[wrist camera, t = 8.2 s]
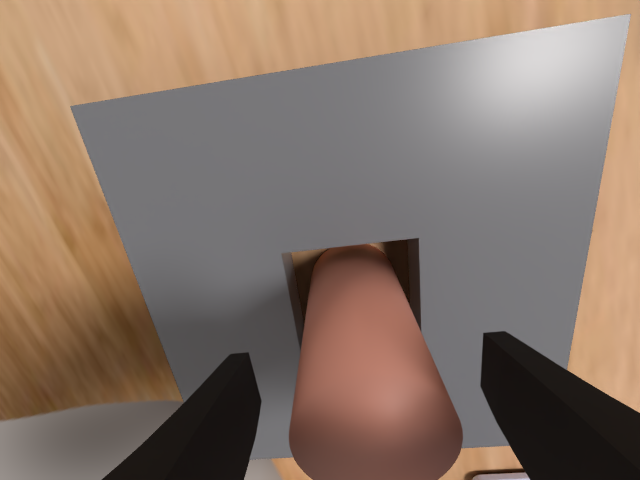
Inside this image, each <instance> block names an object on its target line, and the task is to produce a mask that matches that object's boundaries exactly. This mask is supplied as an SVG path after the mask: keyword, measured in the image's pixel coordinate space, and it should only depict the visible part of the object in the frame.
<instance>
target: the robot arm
mask: <svg viewBox="0 0 640 480" xmlns="http://www.w3.org/2000/svg"><path fill="white" fill-rule="evenodd" d="M480 387H481V389H482V391H483V394H484V396H485V398H486V400H487V403H488V405H489V407H490V409H491V412H492V414H493V416H494V418H495V420H496V422H497V424H498V426H499V428H500V429H501V431H502V433H503V434H504V436H505V438H506V440H507V441H508V443H509V445H510V447H511V448H512V450H513V452H514V453H515V455H516V457H517V458H518V460H519V462H520V464H521V465H522V467H523V469H524V470H525V472H523V473H501V474H480V475H476V476H474V477H473V479H472V480H640V413H639V412H637V411H635V410H633V409H632V408H630V407H628V406H626V405H625V404H623V403H621V402H619V401H618V400H616V399H614V398H612V397H611V396H609V395H607V394H605V393H604V392H602V391H600V390H599V389H597V388H595V387H594V386H592V385H590V384H589V383H587V382H585V381H584V380H582V379H581V378H579V377H577V376H576V375H574V374H572V373H571V372H569V371H568V370H566V369H564V368H563V367H561V366H560V365H558V364H556V363H555V362H553V361H552V360H550V359H549V358H547V357H545V356H544V355H542V354H541V353H539V352H538V351H536V350H534V349H533V348H531V347H530V346H528V345H527V344H525V343H524V342H522V341H520V340H519V339H517V338H516V337H514V336H512V335H511V334H509V333H507V332H506V331H499V332H486V333H483V346H482V364H481V383H480ZM261 402H262V401H261V397H260V393H259V389H258V386H257V382H256V378H255V374H254V370H253V367H252V363H251V359H250V355H249V352H246V353H234V354H230V355H229V356H228V357H227V358H226V359H225V360H224V361H223V362H222V363H221V364H220V365H219V366H218V367H217V368H216V369H215V370H214V372H213V373H212V374H211V375H210V376H209V377H208V378H207V379H206V380H205V381H204V382H203V383H202V384H201V386H200V387H199V388H198V389H197V390H196V391H195V392H194V393H193V394H192V395H191V396H190V397H189V398H188V399H187V400H186V401H185V402H184V403H183V404H182V406H181V407H180V408H179V409H178V410H177V411H176V412H175V413H174V414H173V415H172V416H171V417H169V419H168V420H166V421H165V422H164V423H163V424H162V425H161V426H160V427H159V428H158V429H157V430H156V431H155V432H154V433H153V434H152V435H151V436H150V437H149V438H148V439H147V440H146V441H145V442H144V443H143V444H142V445H141V446H140V447H138V448H137V449H136V450H135V451H134V452H133V453H132V454H131V455H130V456H128V457H127V458H126V459H125V460H124V461H123V462H122V463H121V464H119V465H118V466H117V467H116V468H115V469H114V470H112V471H111V472H110V473H109V474H108V475H107V476H105V477H104V478H103V479H102V480H244V477H245V474H246V470H247V467H248V463H249V459H250V456H251V452H252V449H253V445H254V441H255V437H256V433H257V427H258V421H259V415H260V408H261Z"/></svg>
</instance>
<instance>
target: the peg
mask: <svg viewBox="0 0 640 480" xmlns="http://www.w3.org/2000/svg"><path fill="white" fill-rule="evenodd" d="M462 442H463V429H462V425H461V421H460V419H459V417H458V415H457V412H456V410H455V408H454V405H453V403H452V401H451V399H450V396H449V394H448V392H447V390H446V387H445V385H444V383H443V380H442V378H441V376H440V374H439V371H438V369H437V367H436V365H435V362H434V360H433V358H432V356H431V353H430V351H429V349H428V346H427V344H426V342H425V340H424V337H423V335H422V333H421V331H420V328H419V326H418V324H417V321H416V319H415V317H414V315H413V312H412V310H411V308H410V306H409V303H408V301H407V299H406V297H405V294H404V292H403V290H402V287H401V285H400V283H399V281H398V278H397V276H396V274H395V272H394V269H393V267H392V265H391V263H390V261H389V259H388V258H387V257H386V256H385V254H384V253H382V252H381V251H380V250H379V249H377V248H376V247H373V246H371V245H369V244H360V245H351V246H342V247H333V248H330V249H328V250H327V251H326V252H324V253H323V254H322V255H321V256H320V257H319V259H318V260H317V262H316V264H315V265H314V268H313V271H312V276H311V283H310V290H309V297H308V304H307V311H306V318H305V325H304V331H303V338H302V345H301V352H300V359H299V366H298V373H297V380H296V387H295V394H294V400H293V407H292V414H291V421H290V428H289V445H290V450H291V453H292V455H293V457H294V459H295V461H296V463H297V464H298V465H299V467H300V468H301V469H302V470H303V471H304V472H305V473H306V474H307V475H308V476H309V477H310V478H312V479H313V480H438V479H439V478H440V477H442V476H443V475H444V474H445V473H446V472H447V471H448V470H449V469H450V468H451V467H452V465H453V464H454V463H455V461H456V459H457V458H458V456H459V454H460V451H461V447H462Z"/></svg>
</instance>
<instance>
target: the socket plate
mask: <svg viewBox="0 0 640 480" xmlns="http://www.w3.org/2000/svg"><path fill="white" fill-rule="evenodd" d="M630 16H631V14H627V15H621V16H615V17H609V18H603V19H597V20H591V21H585V22H579V23H572V24H566V25H560V26H554V27H548V28H542V29H536V30H530V31H524V32H518V33H512V34H506V35H500V36H494V37H487V38H481V39H475V40H469V41H463V42H457V43H451V44H445V45H439V46H433V47H427V48H421V49H415V50H409V51H403V52H396V53H390V54H384V55H378V56H372V57H366V58H360V59H354V60H348V61H342V62H336V63H330V64H324V65H318V66H311V67H305V68H299V69H293V70H287V71H281V72H275V73H269V74H263V75H257V76H251V77H245V78H239V79H233V80H226V81H220V82H214V83H208V84H202V85H196V86H190V87H184V88H178V89H172V90H166V91H160V92H154V93H148V94H142V95H135V96H129V97H123V98H117V99H111V100H105V101H99V102H93V103H87V104H81V105H75V106H70V107H71V110H72V113H73V115H74V118H75V120H76V123H77V126H78V128H79V131H80V133H81V136H82V139H83V141H84V144H85V146H86V149H87V152H88V154H89V157H90V159H91V162H92V165H93V167H94V170H95V172H96V175H97V178H98V180H99V183H100V185H101V188H102V191H103V193H104V196H105V198H106V201H107V204H108V206H109V209H110V211H111V214H112V217H113V219H114V222H115V224H116V227H117V230H118V232H119V235H120V237H121V240H122V243H123V245H124V248H125V250H126V253H127V256H128V258H129V261H130V263H131V266H132V269H133V271H134V274H135V276H136V279H137V282H138V284H139V287H140V289H141V292H142V295H143V297H144V300H145V302H146V305H147V308H148V310H149V313H150V315H151V318H152V321H153V323H154V326H155V328H156V331H157V334H158V336H159V339H160V341H161V344H162V347H163V349H164V352H165V354H166V357H167V360H168V362H169V365H170V367H171V370H172V373H173V375H174V378H175V380H176V383H177V386H178V388H179V391H180V393H181V396H182V399H183V401H184V402H185V401H186V400H187V399H188V398H189V397H190V396H191V395H192V394H193V393H194V392H195V391H196V390H197V389H198V388H199V387H200V386H201V384H202V383H203V382H204V381H205V380H206V379H207V378H208V377H209V376H210V375H211V374H212V373H213V372H214V370H215V369H216V368H217V367H218V366H219V365H220V364H221V363H222V362H223V361H224V360H225V359H226V358H227V357H228V356H229V355H230V354H234V353H246V352H249V355H250V359H251V363H252V367H253V370H254V374H255V378H256V382H257V386H258V389H259V393H260V397H261V401H262V402H261V408H260V415H259V421H258V427H257V433H256V437H255V441H254V445H253V449H252V452H251V456H250V459H249V460H253V459H272V458H290V457H293V455H292V453H291V450H290V445H289V428H290V421H291V414H292V407H293V400H294V394H295V387H296V380H297V373H298V366H299V359H300V352H301V345H302V338H303V331H304V320H303V315H302V310H301V304H300V299H299V293H298V288H297V282H296V277H295V271H294V266H293V260H292V255H291V252H298V251H307V250H316V249H325V248H333V247H342V246H351V245H360V244H369V243H378V242H387V241H396V240H405V239H407V241H408V266H409V291H410V308H411V310H412V312H413V315H414V317H415V319H416V321H417V324H418V326H419V328H420V331H421V333H422V335H423V337H424V340H425V342H426V344H427V346H428V349H429V351H430V353H431V356H432V358H433V360H434V362H435V365H436V367H437V369H438V371H439V374H440V376H441V378H442V380H443V383H444V385H445V387H446V390H447V392H448V394H449V396H450V399H451V401H452V403H453V405H454V408H455V410H456V412H457V415H458V417H459V419H460V421H461V425H462V429H463V442H462V447H461V448H475V447H494V446H510V445H509V443H508V441H507V440H506V438H505V436H504V434H503V433H502V431H501V429H500V428H499V426H498V424H497V422H496V420H495V418H494V416H493V414H492V412H491V409H490V407H489V405H488V403H487V400H486V398H485V396H484V394H483V391H482V389H481V387H480V383H481V364H482V346H483V333H486V332H499V331H506V332H507V333H509V334H511V335H512V336H514V337H516V338H517V339H519V340H520V341H522V342H524V343H525V344H527V345H528V346H530V347H531V348H533V349H534V350H536V351H538V352H539V353H541V354H542V355H544V356H545V357H547V358H549V359H550V360H552V361H553V362H555V363H556V364H558V365H560V366H561V367H563V368H564V369H566V370H567V366H568V361H569V355H570V350H571V344H572V338H573V333H574V327H575V322H576V316H577V311H578V305H579V300H580V294H581V288H582V283H583V277H584V272H585V266H586V261H587V255H588V250H589V244H590V238H591V233H592V227H593V222H594V216H595V211H596V205H597V200H598V194H599V189H600V183H601V177H602V172H603V166H604V161H605V155H606V150H607V144H608V139H609V133H610V127H611V122H612V116H613V111H614V105H615V100H616V94H617V89H618V83H619V77H620V72H621V66H622V61H623V55H624V50H625V44H626V39H627V33H628V28H629V22H630Z"/></svg>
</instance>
